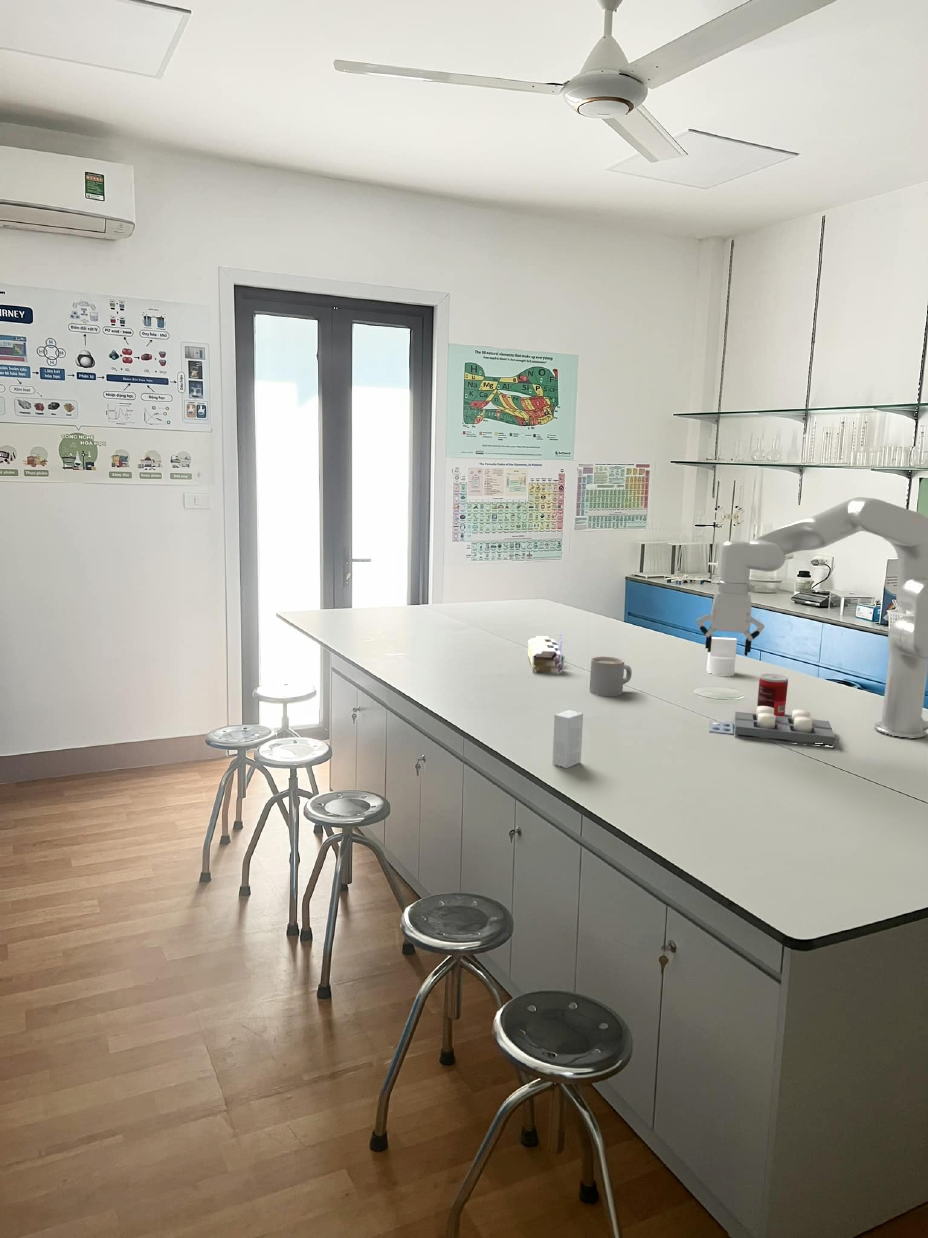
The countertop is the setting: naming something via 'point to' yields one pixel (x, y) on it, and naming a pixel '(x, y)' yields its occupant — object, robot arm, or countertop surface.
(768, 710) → the button
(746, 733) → the button board
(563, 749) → the skincare box
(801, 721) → the button
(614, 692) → the coffee mug
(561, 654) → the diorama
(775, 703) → the canned food
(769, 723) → the button
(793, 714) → the button
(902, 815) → the countertop surface
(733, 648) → the cylinder with rectangular tab
